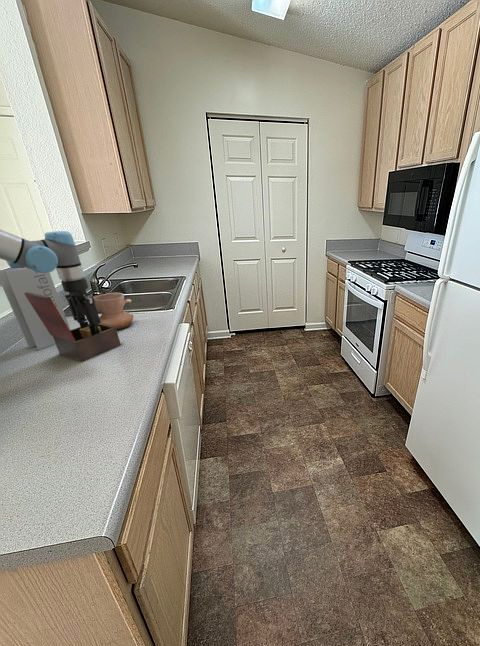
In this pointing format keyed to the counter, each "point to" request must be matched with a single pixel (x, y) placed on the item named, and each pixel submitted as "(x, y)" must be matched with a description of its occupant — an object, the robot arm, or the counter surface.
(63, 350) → the book box
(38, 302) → the cover
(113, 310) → the ceramic jug
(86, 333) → the block
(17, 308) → the white lettered carton
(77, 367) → the counter surface
